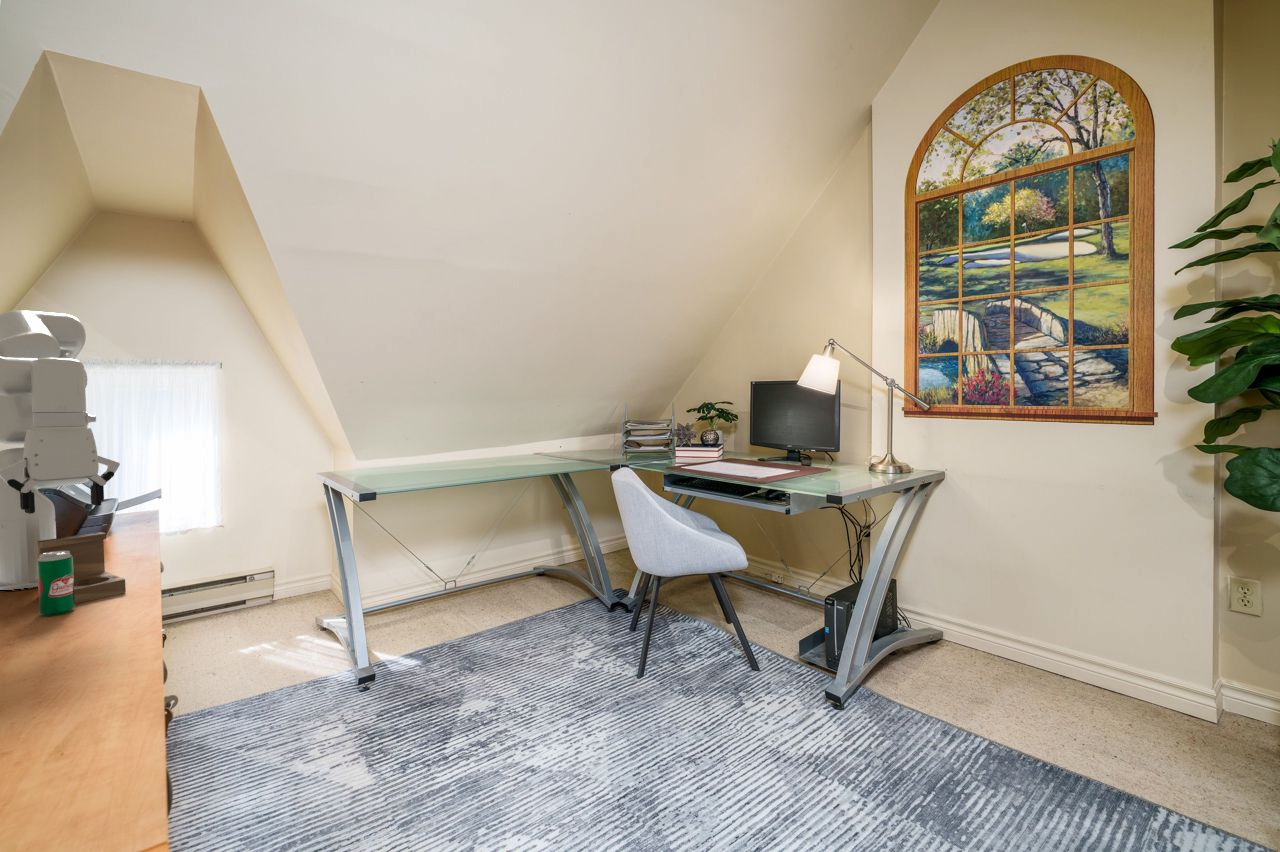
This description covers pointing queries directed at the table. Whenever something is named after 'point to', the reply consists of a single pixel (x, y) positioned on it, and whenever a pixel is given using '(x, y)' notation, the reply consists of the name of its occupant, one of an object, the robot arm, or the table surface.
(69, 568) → the soda can
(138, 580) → the table surface
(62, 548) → the socket block
